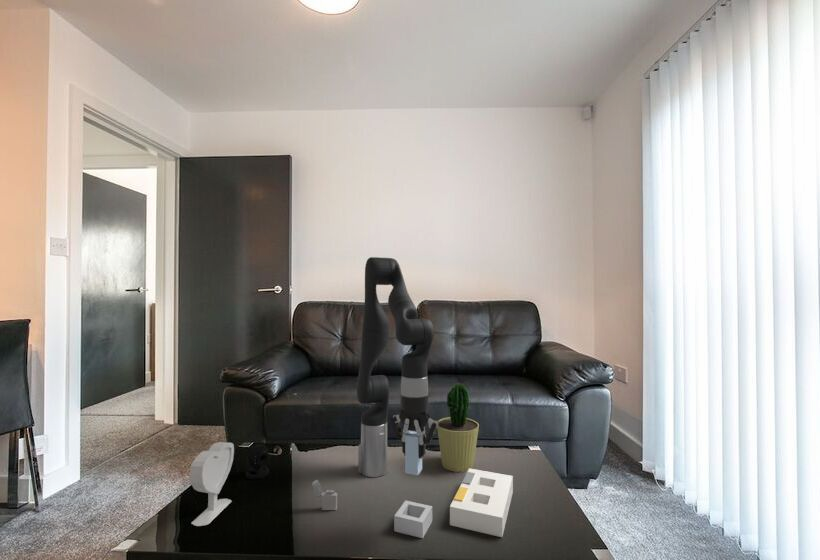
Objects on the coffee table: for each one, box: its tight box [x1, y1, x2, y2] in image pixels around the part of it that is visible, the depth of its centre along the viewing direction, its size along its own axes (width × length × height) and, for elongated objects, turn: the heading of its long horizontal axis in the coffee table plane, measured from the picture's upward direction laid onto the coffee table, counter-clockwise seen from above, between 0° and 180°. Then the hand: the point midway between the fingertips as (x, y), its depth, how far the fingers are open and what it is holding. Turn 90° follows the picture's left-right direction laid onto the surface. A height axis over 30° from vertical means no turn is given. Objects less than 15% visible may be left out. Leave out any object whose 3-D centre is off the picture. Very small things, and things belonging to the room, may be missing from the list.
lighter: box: [311, 479, 338, 511], centre depth 112 cm, size 7×2×8 cm, turn 89°
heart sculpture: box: [189, 441, 235, 527], centre depth 111 cm, size 16×5×18 cm, turn 175°
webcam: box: [245, 444, 270, 480], centre depth 132 cm, size 8×8×10 cm
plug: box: [404, 430, 423, 476], centre depth 105 cm, size 4×4×10 cm
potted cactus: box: [436, 382, 480, 473], centre depth 141 cm, size 15×15×30 cm
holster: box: [393, 500, 433, 539], centre depth 104 cm, size 8×8×4 cm
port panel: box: [449, 468, 514, 538], centre depth 113 cm, size 14×24×5 cm, turn 159°
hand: (413, 455), depth 105 cm, fingers closed on plug, 3 cm apart
